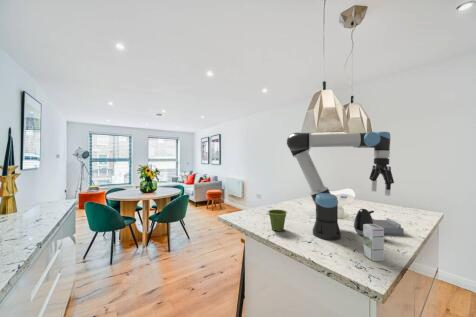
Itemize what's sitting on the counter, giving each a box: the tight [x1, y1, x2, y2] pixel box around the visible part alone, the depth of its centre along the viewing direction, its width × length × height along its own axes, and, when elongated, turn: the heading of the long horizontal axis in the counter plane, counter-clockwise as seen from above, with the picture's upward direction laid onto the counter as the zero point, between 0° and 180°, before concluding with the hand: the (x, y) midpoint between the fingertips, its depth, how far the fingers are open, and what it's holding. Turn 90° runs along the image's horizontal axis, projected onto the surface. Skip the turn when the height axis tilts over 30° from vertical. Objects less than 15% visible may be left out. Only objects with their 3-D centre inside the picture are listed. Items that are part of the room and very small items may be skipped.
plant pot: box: [267, 209, 288, 232], centre depth 124 cm, size 12×12×11 cm
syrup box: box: [362, 224, 385, 262], centre depth 88 cm, size 6×6×14 cm
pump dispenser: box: [353, 208, 375, 237], centre depth 115 cm, size 10×10×15 cm
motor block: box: [372, 217, 405, 237], centre depth 125 cm, size 16×20×6 cm
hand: (380, 193), depth 118 cm, fingers open, 13 cm apart
